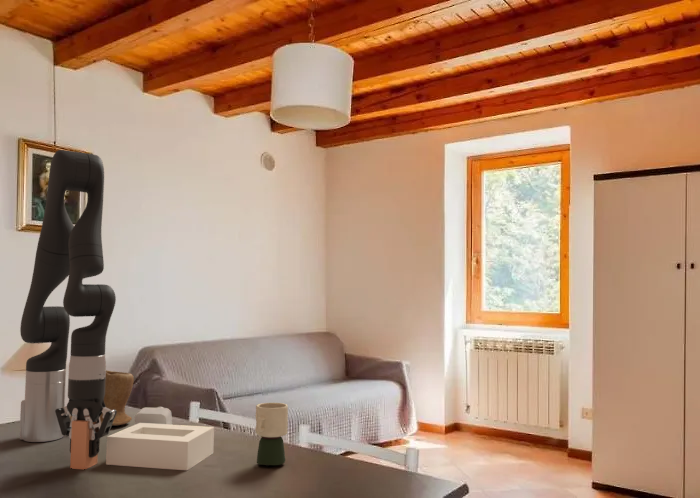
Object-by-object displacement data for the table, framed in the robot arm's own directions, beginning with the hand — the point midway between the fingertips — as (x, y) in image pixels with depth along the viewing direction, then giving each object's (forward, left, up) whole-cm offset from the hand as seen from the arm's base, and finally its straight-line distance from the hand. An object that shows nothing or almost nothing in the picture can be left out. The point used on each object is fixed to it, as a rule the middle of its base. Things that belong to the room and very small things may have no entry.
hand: (84, 455), depth 135 cm
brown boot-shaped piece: (-18, +37, -2) cm, 41 cm away
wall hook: (+5, +24, -2) cm, 25 cm away
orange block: (0, 0, -2) cm, 2 cm away
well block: (+13, +9, -2) cm, 16 cm away
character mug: (+39, +10, -2) cm, 40 cm away
